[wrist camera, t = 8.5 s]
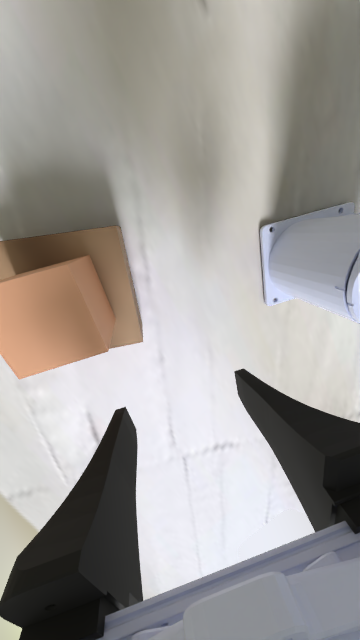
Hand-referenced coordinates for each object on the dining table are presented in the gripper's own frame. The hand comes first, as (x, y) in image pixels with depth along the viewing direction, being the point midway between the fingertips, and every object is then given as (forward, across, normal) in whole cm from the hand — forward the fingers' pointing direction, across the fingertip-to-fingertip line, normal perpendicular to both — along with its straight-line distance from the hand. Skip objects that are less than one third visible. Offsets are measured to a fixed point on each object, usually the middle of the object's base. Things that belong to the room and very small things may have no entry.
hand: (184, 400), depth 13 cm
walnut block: (+10, +6, -7) cm, 13 cm away
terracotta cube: (+6, +6, -7) cm, 11 cm away
